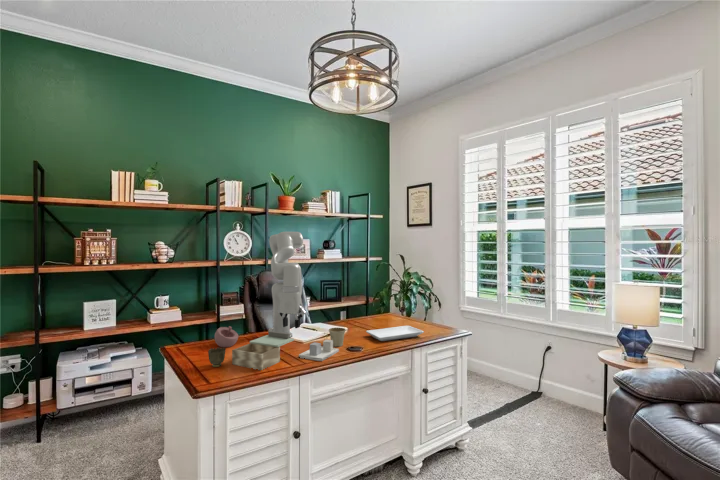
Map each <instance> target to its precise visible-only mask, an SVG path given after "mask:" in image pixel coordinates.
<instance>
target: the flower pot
mask: <svg viewBox="0 0 720 480" xmlns="http://www.w3.org/2000/svg"><path fill="white" fill-rule="evenodd" d="M346 330H347V329H346V328H344V327H331V328H328V332H329V337H330V340H333V348H335V347H336V348H337V347H340V348H341V347H342V346H344V338H345V333H346Z"/></svg>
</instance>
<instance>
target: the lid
mask: <svg viewBox="0 0 720 480" xmlns="http://www.w3.org/2000/svg"><path fill="white" fill-rule="evenodd" d="M293 341H295V338H291V337H290V334H289V333H282V332H274V331H269V332H268V334H267V335H263V336H260V337H258V338H254V339H252V340H249V343H248V344H250V343H253V344H260V345H266V346H273V347H280V348H281V347H282V346H284V345H286V344H289V343H291V342H293Z"/></svg>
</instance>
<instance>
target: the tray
mask: <svg viewBox="0 0 720 480" xmlns="http://www.w3.org/2000/svg"><path fill="white" fill-rule="evenodd" d="M365 332H366V333H367V334H368V335H370V336H372V337H373V338H374V339H376V340H378V341H380V342H385V341H391V340H392V341H394V340H399V339H400V340H401V339H408V338H415V337H418V336H419V335H422V334H423V333H425V331H424V330H422V329H419V328H416V327H413V326H411V325H401V326H393V327H385V328H378V329H370V330H369V329H368V330H366V331H365Z"/></svg>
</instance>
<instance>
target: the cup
mask: <svg viewBox="0 0 720 480" xmlns="http://www.w3.org/2000/svg"><path fill="white" fill-rule="evenodd" d="M226 351H227V350H226V347H220V346H218V347H216V348H215V347H214V348H210V349H208V350H207V355H208V361H209V362H210V364H211V366H212V367H213V368H219V367H221V366H222V364H223V363H224V361H225V357H226Z"/></svg>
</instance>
